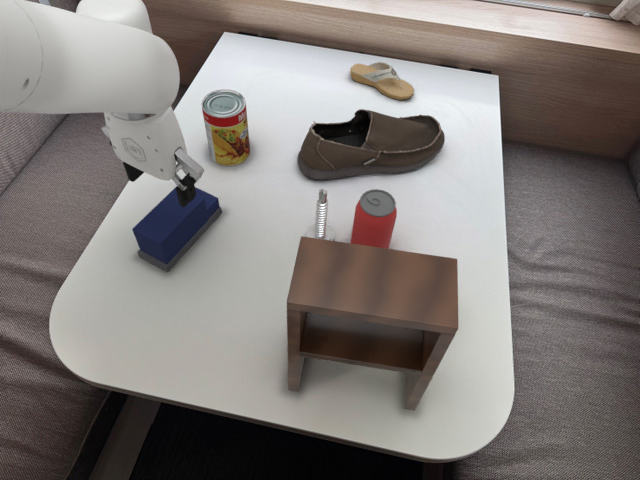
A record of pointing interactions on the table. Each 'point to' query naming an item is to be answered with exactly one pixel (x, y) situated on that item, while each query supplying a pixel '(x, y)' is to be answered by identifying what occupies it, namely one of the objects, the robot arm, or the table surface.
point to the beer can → (374, 219)
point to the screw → (321, 220)
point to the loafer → (370, 145)
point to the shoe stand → (371, 310)
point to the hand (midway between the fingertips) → (162, 188)
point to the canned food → (226, 127)
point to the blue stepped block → (174, 227)
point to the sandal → (382, 79)
